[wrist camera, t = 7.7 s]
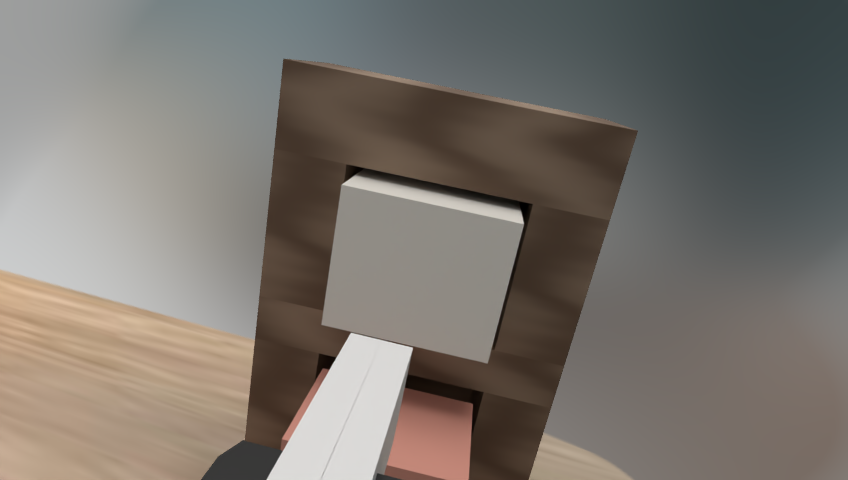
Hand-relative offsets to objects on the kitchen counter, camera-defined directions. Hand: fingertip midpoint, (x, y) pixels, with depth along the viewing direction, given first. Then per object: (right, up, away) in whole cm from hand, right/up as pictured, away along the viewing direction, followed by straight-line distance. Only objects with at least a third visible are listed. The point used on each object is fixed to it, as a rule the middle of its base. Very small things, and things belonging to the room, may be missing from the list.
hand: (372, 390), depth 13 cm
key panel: (-2, -12, +18) cm, 22 cm away
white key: (+1, 0, +11) cm, 11 cm away
